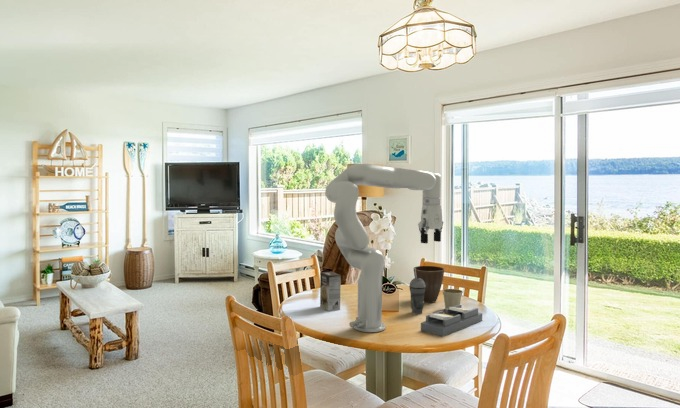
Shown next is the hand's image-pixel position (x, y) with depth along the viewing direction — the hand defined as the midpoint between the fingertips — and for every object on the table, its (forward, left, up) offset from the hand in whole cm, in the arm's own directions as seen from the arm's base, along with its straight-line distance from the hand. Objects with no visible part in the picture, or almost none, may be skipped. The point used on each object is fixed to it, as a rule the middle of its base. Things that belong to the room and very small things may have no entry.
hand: (430, 242), depth 195 cm
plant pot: (+24, +17, -32) cm, 44 cm away
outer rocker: (+4, -13, -28) cm, 31 cm away
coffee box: (-21, +40, -32) cm, 56 cm away
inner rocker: (-10, -13, -28) cm, 32 cm away
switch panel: (-3, -13, -32) cm, 35 cm away
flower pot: (+18, 0, -32) cm, 37 cm away
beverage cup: (+2, +8, -32) cm, 34 cm away
